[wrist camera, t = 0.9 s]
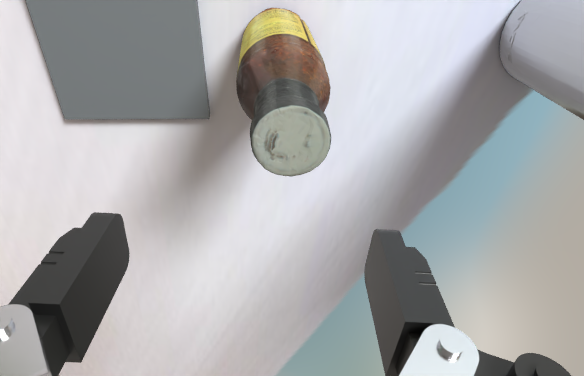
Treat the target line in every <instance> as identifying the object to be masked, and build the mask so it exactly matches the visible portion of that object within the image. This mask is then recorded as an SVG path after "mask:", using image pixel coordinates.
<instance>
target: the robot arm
mask: <svg viewBox="0 0 584 376" xmlns="http://www.w3.org/2000/svg"><path fill="white" fill-rule="evenodd" d="M500 58H501V62H502V64H503V66H504V68H505V70H506V71H507V72H508V73H509V74H510V75H511V76H512V77H514V78H515V79H517V80H519V81H520V82H522V83H524V84H525V85H527V86H529V87H530V88H532V89H534V90H535V91H536V92H538V93H540V94H541V95H543V96H545V97H546V98H548V99H550V100H551V101H553V102H555V103H556V104H558V105H560V106H561V107H563V108H565V109H566V110H568V111H570V112H571V113H573V114H575V115H576V116H578V117H580V118H581V119H583V120H584V0H521V2H520V3H519V4H518V5H517V6H516V8H515V9H514V10H513V11H512V13H511V15H510V16H509V18H508V20H507V21H506V24H505V26H504V29H503V31H502V34H501V39H500ZM128 263H129V248H128V243H127V238H126V233H125V228H124V223H123V219H122V216H121V215H120V214H113V213H93V214H91V216H90V217H89V218H88V220H87V221H86V223H85V224H84V225H83V227H82V228H73V229H72V230H70V231H69V232H67V233H66V234H65V235H63V236H62V237H60V238H59V239H58V240H57V242H56V243H55V244H54V246H53V247H52V248H51V249H50V251H49V254H47V255H46V256H45V257H44V259H43V260H42V261H41V265H40V264H39V265H38V266H37V268H36V269H35V270H34V272H33V273H32V274H31V276H30V277H29V278H28V280H27V281H26V282H25V283H24V285H23V286H22V287H21V289H20V290H19V291H18V293H17V294H16V295H15V297H14V298H13V299H12V300H11V302H10V303H9V304H8V305H4V306H0V376H59V373H60V371H61V369H62V367H63V365H64V363H65V362H82V360H83V357H84V355H85V353H86V351H87V349H88V347H89V345H90V343H91V341H92V339H93V337H94V335H95V333H96V331H97V329H98V327H99V325H100V323H101V321H102V319H103V317H104V315H105V313H106V311H107V309H108V307H109V304H110V302H111V300H112V298H113V296H114V294H115V292H116V290H117V288H118V286H119V284H120V282H121V280H122V278H123V276H124V274H125V272H126V270H127V267H128ZM365 283H366V288H367V293H368V298H369V302H370V307H371V311H372V316H373V320H374V325H375V330H376V334H377V339H378V344H379V348H380V352H381V357H382V362H383V367H384V371H385V376H571V375H570V374H569V372H567V371H566V370H565V369H564V368H563V367H562V366H561V365H560V364H558V363H557V362H555V361H553V360H551V359H550V358H548V357H545V356H543V355H540V354H535V353H526V354H523V355H520V356H519V357H518V358H517V359H516V361H515V362H514V363H513V362H511V361H508V360H505V359H502V358H499V357H496V356H492V355H489V354H487V353H484V352H481V351H480V350H478V349H477V348H476V346H475V344H474V343H473V341H472V340H471V339H470V338H469V337H468V336H467V335H466V334H464V333H463V332H462V331H460V330H458V329H456V328H455V327H454V324H453V322H452V320H451V317H450V315H449V313H448V310H447V308H446V306H445V303H444V301H443V298H442V296H441V294H440V292H439V289H438V287H437V286H436V282H435V279H434V277H433V275H431V270H430V268H429V265H428V263H427V261H426V259H425V258H424V257H423V256H422V255H421V254H420V252H419V251H418V250H417V249H415V247H414V248H413V247H405V244H404V241H403V239H402V236H401V233H400V232H399V231H396V230H378V229H376V230H374V232H373V236H372V240H371V244H370V248H369V252H368V256H367V260H366V264H365Z"/></svg>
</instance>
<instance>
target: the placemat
mask: <svg viewBox="0 0 584 376" xmlns="http://www.w3.org/2000/svg"><path fill="white" fill-rule="evenodd" d="M25 1H26V4H27V7H28V10H29V13H30V16H31V19H32V22H33V25H34V28H35V31H36V34H37V37H38V40H39V43H40V46H41V49H42V52H43V55H44V58H45V61H46V64H47V67H48V70H49V73H50V76H51V79H52V82H53V85H54V88H55V91H56V94H57V97H58V100H59V103H60V106H61V109H62V112H63V115H64V118H65V119H209V117H210V110H209V101H208V92H207V83H206V74H205V65H204V56H203V47H202V38H201V29H200V20H199V11H198V2H197V0H25Z"/></svg>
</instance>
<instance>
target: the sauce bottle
mask: <svg viewBox="0 0 584 376" xmlns="http://www.w3.org/2000/svg"><path fill="white" fill-rule="evenodd" d="M236 83H237V94H238V98H239V101H240V104H241V106H242V108H243V110H244V111H245V113H246V114H247V116H248V117H249V118H250V119H251V120H252V123H251V127H250V138H251V146H252V152H253V154H254V156H255V157H256V159H257V160H258V162H259V163H260V164H261V165H262V166H263V167H264V168H265V169H266V170H268V171H270V172H272V173H274V174H277V175H283V176H296V175H301V174H305V173H307V172H310V171H312V170H313V169H314V168H316V167H318V166H319V165H320V164H321V162H323V160H324V159H325V158H326V156H327V154H328V151H329V149H330V144H331V134H330V129H329V125H328V121H327V118H326V116H325V114H324V111H325V109H326V107H327V104H328V102H329V96H330V84H329V78H328V74H327V72H326V68H325V64H324V61H323V58H322V56H321V54H320V52H319V50H318V48H317V45H316V43H315V41H314V39H313V37H312V35H311V33H310V31H309V28H308V26H307V25H306V23H305V22H304V21H303V20H301V19H300V17H299V16H298V15H297V14H296V13H294V12H292V11H290V10H286V9H280V8H270V9H266V10H265V11H262V12H261V13H259V14H258V15H256V16H255V17H254V18H253V19H252V20H251V21H250V22H249V24H248V26H247V27H246V29H245V31H244V34H243V38H242V44H241V51H240V57H239V64H238V71H237V81H236Z"/></svg>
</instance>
